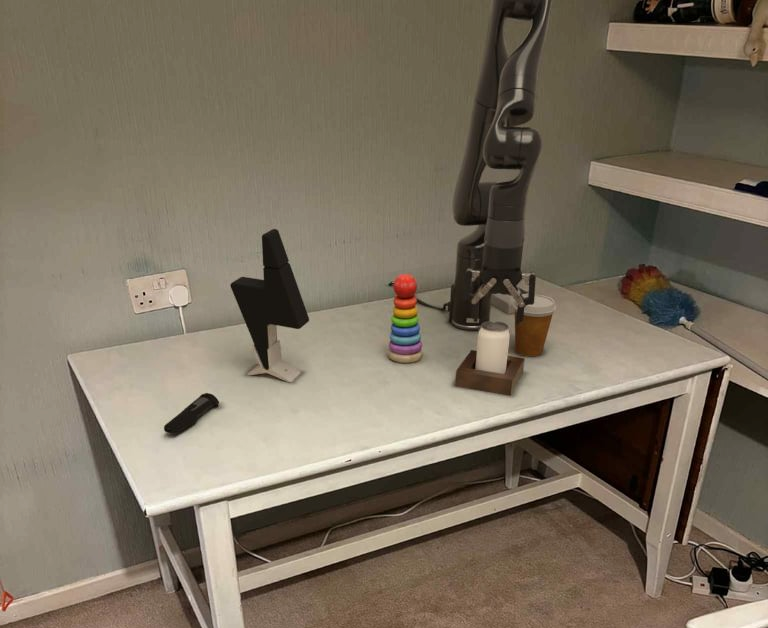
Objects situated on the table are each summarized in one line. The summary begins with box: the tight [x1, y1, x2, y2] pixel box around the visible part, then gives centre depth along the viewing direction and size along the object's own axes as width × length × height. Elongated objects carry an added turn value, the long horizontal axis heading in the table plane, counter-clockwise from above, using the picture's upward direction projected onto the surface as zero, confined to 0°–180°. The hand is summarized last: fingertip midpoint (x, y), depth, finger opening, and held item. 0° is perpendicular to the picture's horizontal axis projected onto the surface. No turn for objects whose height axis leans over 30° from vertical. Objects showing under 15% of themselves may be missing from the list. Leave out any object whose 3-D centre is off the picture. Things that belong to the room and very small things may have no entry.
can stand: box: [454, 349, 526, 396], centre depth 165 cm, size 12×12×4 cm
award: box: [230, 228, 310, 383], centre depth 158 cm, size 15×5×30 cm, turn 71°
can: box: [475, 320, 510, 374], centre depth 162 cm, size 6×6×12 cm
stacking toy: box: [387, 273, 424, 364], centre depth 170 cm, size 8×8×19 cm
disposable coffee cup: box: [513, 293, 557, 357], centre depth 175 cm, size 10×10×12 cm
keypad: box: [491, 284, 529, 315], centre depth 205 cm, size 10×4×15 cm
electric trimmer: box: [163, 392, 220, 435], centre depth 148 cm, size 4×16×3 cm, turn 158°
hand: (496, 322), depth 158 cm, fingers open, 8 cm apart
